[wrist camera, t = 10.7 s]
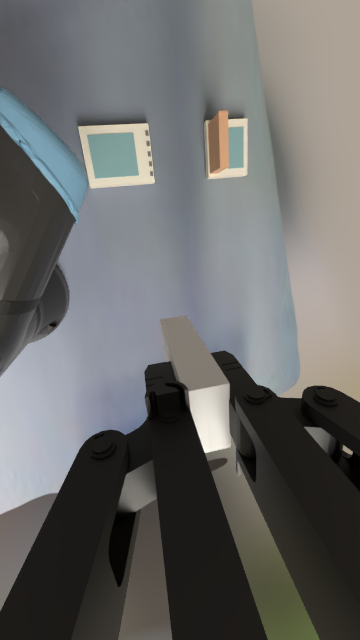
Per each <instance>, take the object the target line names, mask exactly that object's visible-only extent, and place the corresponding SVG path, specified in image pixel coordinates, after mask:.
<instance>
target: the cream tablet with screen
mask: <svg viewBox="0 0 360 640" xmlns="http://www.w3.org/2000/svg"><path fill="white" fill-rule="evenodd" d="M78 129H79V134H80V139H81V144H82V149H83V154H84V159H85V164H86V169H87V174H88V179H89V184H90V188H104V187H116V186H129V185H142V184H154V183H155V180H154V172H153V163H152V154H151V145H150V137H149V128H148V123H143V124H121V125H99V126H78Z"/></svg>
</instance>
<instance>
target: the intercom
mask: <svg viewBox="0 0 360 640" xmlns="http://www.w3.org/2000/svg"><path fill="white" fill-rule="evenodd" d="M204 139H205V160H206V179H217V178H230V177H242V176H246V175H247V118H246V119H228V111H218V112H217V114H216V115H215V116H214V117H213V119H212V120H206V121H205V122H204Z"/></svg>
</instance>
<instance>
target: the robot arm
mask: <svg viewBox="0 0 360 640" xmlns="http://www.w3.org/2000/svg"><path fill="white" fill-rule="evenodd" d="M87 190H88V178H87V174H86V171H85V169H84V166H83V164H82V163H81V161H80V160H79V158H78V157H77V156H76V154H75V153H74V152H73V151H72V150H71V148H70V147H69V146H68V145H67V144H66V143H65V142H64V141H63V140H62V139H61V138H60V137H59V136H58V135H57V134H56V133H55V132H54V131H53V130H52V129H51V128H50V127H49V126H48V125H47V124H46V123H45V122H44V121H43V120H42V119H41V118H40V117H39V116H37V115H36V114H35V113H34V112H33V111H32V110H31V109H30V108H29V107H28V106H26V105H25V104H24V103H23V102H22V101H21V100H19V99H18V98H17V97H16V96H15V95H13V94H12V93H11V92H10V91H9V90H7V89H4V88H2V87H0V376H1V375H2V374H3V373H4V372H5V370H6V369H7V368H8V367H9V366H10V364H11V363H12V362H13V361H14V360H15V358H16V357H17V356H18V355H19V354H20V352H21V351H22V350H23V349H24V348H25V346H26V345H27V344H28V343H31V342H35V341H38V340H40V339H42V338H44V337H46V336H47V335H49V334H50V333H52V332H53V331H54V330H55V329H56V328H57V327H58V326H59V324H60V323H61V321H62V320H63V318H64V317H65V315H66V313H67V310H68V306H69V290H68V286H67V283H66V280H65V278H64V276H63V274H62V273H61V271H60V270H59V268H58V267H57V266H56V263H57V261H58V258H59V256H60V254H61V251H62V249H63V247H64V245H65V242H66V240H67V238H68V236H69V233H70V231H71V229H72V226H73V224H77V222H78V220H79V214H78V213H79V211H80V208H81V205H82V203H83V200H84V198H85V195H86V193H87ZM160 325H161V333H162V340H163V348H164V356H165V362H163V363H157V364H152V365H148V367H147V369H146V370H145V372H144V373H145V382H146V391H147V392H146V394H145V402H146V407H147V413H148V417H147V419H146V421H145V422H144V423H143V424H142V425H141V426H140V427H139V428H138V429H136V430H134V431H133V432H131V433H129V434H127V435H124V434H123V433H121V432H119V431H116V430H106V431H101V432H99V433H97V434H95V435H93V436H92V437H90V438H89V439H88V440H87V441H85V443H84V444H83V445H82V447H81V448H80V450H79V452H78V454H77V456H76V458H75V460H74V462H73V464H72V466H71V468H70V470H69V472H68V474H67V476H66V479H65V481H64V483H63V485H62V487H61V489H60V491H59V493H58V495H57V497H56V499H55V501H54V503H53V505H52V507H51V509H50V511H49V513H48V515H47V518H46V519H45V521H44V523H43V525H42V528H41V529H40V532H39V534H38V536H37V538H36V540H35V542H34V544H33V546H32V548H31V550H30V552H29V554H28V556H27V558H26V560H25V562H24V564H23V566H22V568H21V570H20V572H19V574H18V577H17V578H16V581H15V583H14V585H13V587H12V589H11V591H10V593H9V595H8V597H7V599H6V601H5V603H4V605H3V607H2V609H1V611H0V640H118V637H119V631H120V626H121V620H122V615H123V609H124V603H125V598H126V592H127V587H128V581H129V575H130V570H131V564H132V559H133V553H134V547H135V542H136V536H137V530H138V525H139V519H140V514H141V508H142V507H144V506H145V505H147V504H148V503H150V502H151V501H153V500H155V499H156V498H157V501H158V510H159V520H160V528H161V538H162V547H163V556H164V565H165V575H166V584H167V593H168V602H169V612H170V621H171V630H172V639H173V640H268V639H267V636H266V634H265V630H264V627H263V624H262V621H261V619H260V616H259V613H258V610H257V607H256V604H255V601H254V598H253V595H252V592H251V589H250V586H249V583H248V580H247V577H246V574H245V571H244V568H243V565H242V562H241V559H240V556H239V553H238V550H237V547H236V544H235V542H234V538H233V536H232V533H231V530H230V527H229V524H228V521H227V518H226V515H225V512H224V509H223V506H222V503H221V500H220V497H219V494H218V491H217V488H216V485H215V482H214V479H213V476H212V473H211V470H210V467H209V464H208V461H207V458H206V456H205V453H207V452H211V451H215V450H220V449H224V448H229V447H231V437H232V438H233V441H234V443H235V445H236V471H237V475H238V476H240V475H241V469H242V471H243V473H244V475H245V478H246V480H247V482H248V484H249V486H250V489H251V491H252V493H253V495H254V497H255V499H256V502H257V504H258V506H259V508H260V510H261V513H262V515H263V517H264V519H265V521H266V523H267V526H268V528H269V530H270V532H271V534H272V536H273V539H274V541H275V543H276V545H277V547H278V549H279V552H280V554H281V556H282V558H283V560H284V563H285V565H286V567H287V569H288V571H289V573H290V576H291V578H292V579H293V582H294V584H295V587H296V589H297V591H298V593H299V595H300V597H301V599H302V602H303V604H304V606H305V608H306V611H307V613H308V615H309V617H310V619H311V621H312V624H313V626H314V628H315V630H316V632H317V634H318V636H319V639H320V640H360V402H358V401H356V400H354V399H353V398H351V397H349V396H347V395H346V394H344V393H342V392H340V391H338V390H335V389H333V388H330V387H326V386H311V387H307V388H306V389H305V390H304V391H303V394H302V398H280V397H278V396H277V395H276V394H275V393H274V392H273V391H271V390H270V389H269V388H266V387H264V386H260V385H257V384H256V383H255V382H254V381H253V379H252V378H251V377H250V376H249V374H248V373H247V372H246V371H245V369H244V368H242V366H241V364H240V363H238V361H237V359H236V358H235V357H234V356H233V355H232V354H230V353H228V352H226V351H220V352H214V353H210V352H209V350H208V349H207V347H206V345H205V344H204V342H203V341H202V339H201V338H200V336H199V334H198V333H197V331H196V330H195V328H194V327H193V325H192V323H191V322H190V320H189V319H188V317H187V316H180V317H174V318H167V319H161V320H160ZM343 445H345V446H346V447H347V448H349V449H350V450H351V451H353V455H350V454H348V453H346V452H344V451H343V450H342V449H343Z"/></svg>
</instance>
